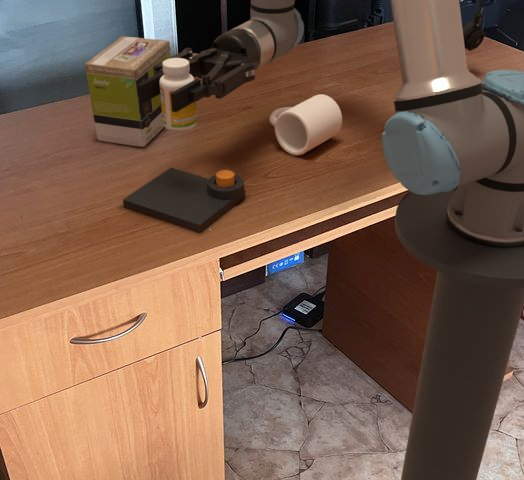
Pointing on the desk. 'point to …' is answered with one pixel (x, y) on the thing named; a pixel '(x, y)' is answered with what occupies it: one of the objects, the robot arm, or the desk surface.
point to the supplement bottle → (170, 82)
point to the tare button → (225, 178)
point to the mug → (306, 124)
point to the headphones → (474, 31)
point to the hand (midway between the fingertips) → (156, 98)
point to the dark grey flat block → (185, 199)
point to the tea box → (126, 90)
